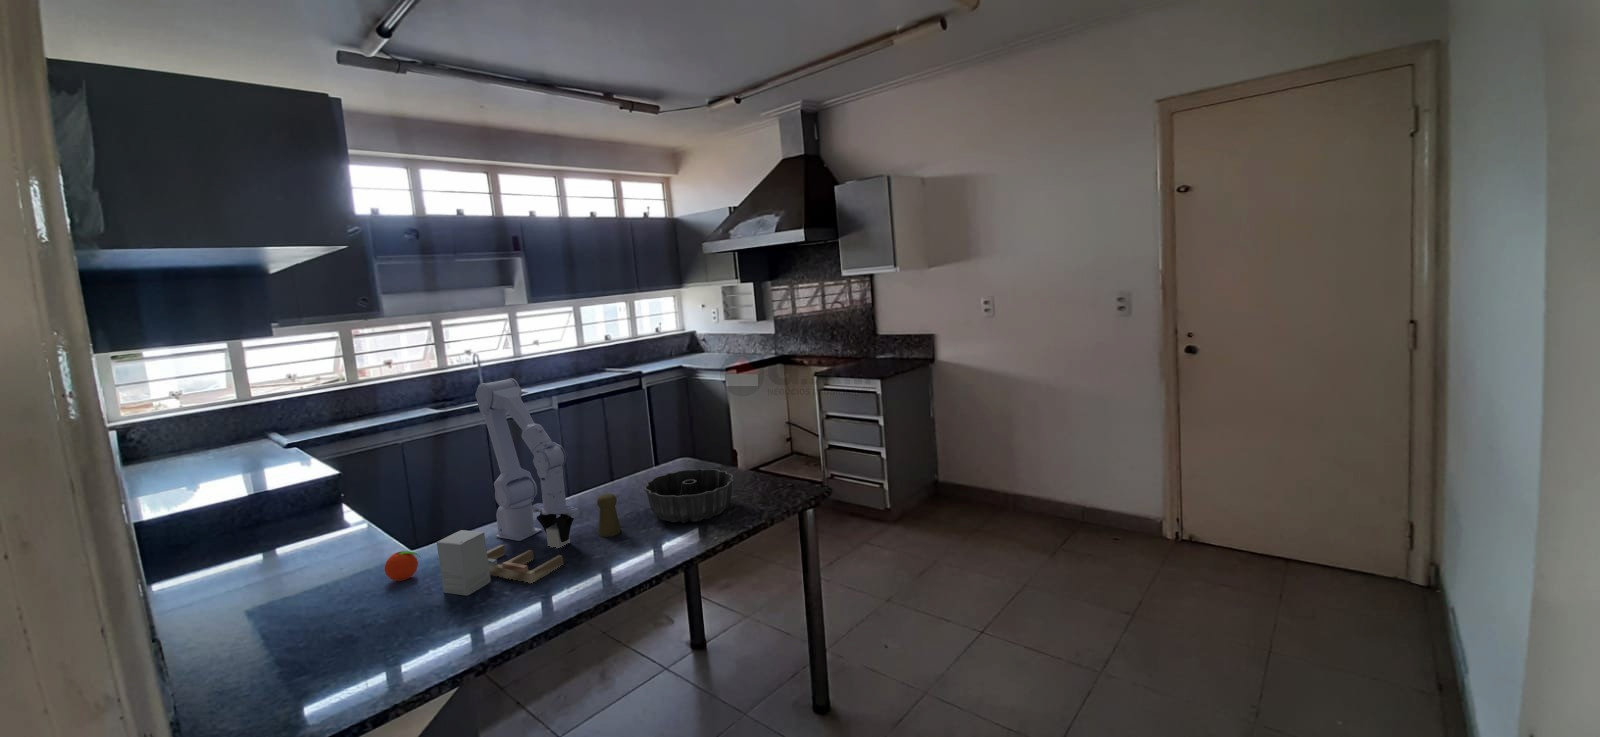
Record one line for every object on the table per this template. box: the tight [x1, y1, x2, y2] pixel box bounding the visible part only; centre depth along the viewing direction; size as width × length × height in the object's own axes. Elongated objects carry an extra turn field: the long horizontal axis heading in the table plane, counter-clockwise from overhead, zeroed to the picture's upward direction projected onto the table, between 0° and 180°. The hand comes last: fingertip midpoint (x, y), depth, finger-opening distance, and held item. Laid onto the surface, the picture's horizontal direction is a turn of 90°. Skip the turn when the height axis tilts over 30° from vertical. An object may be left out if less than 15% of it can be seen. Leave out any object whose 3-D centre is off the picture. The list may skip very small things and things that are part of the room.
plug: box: [545, 524, 571, 549], centre depth 173 cm, size 4×4×6 cm
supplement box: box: [436, 529, 491, 597], centre depth 151 cm, size 7×7×13 cm
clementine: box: [384, 550, 422, 582], centre depth 157 cm, size 8×7×7 cm
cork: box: [596, 493, 622, 538], centre depth 180 cm, size 6×6×11 cm
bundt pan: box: [643, 468, 734, 524], centre depth 192 cm, size 26×26×10 cm
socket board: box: [487, 544, 564, 584], centre depth 160 cm, size 21×10×4 cm, turn 66°
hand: (558, 539), depth 174 cm, fingers closed on plug, 4 cm apart
